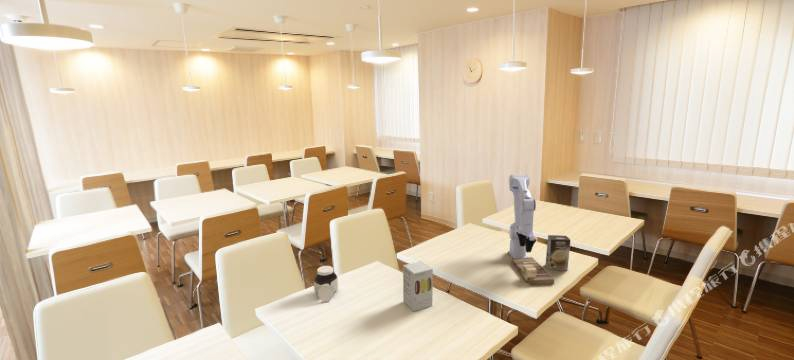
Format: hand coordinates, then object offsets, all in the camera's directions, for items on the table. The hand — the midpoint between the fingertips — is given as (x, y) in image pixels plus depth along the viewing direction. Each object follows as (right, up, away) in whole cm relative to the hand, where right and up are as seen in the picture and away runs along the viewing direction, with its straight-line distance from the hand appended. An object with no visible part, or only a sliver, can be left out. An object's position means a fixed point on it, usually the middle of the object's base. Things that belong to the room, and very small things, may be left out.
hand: (525, 249), depth 187 cm
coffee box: (+17, -10, +3) cm, 19 cm away
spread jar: (-94, -17, -19) cm, 98 cm away
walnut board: (+2, -11, -2) cm, 12 cm away
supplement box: (-55, -18, -28) cm, 64 cm away
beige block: (0, -12, -10) cm, 15 cm away
